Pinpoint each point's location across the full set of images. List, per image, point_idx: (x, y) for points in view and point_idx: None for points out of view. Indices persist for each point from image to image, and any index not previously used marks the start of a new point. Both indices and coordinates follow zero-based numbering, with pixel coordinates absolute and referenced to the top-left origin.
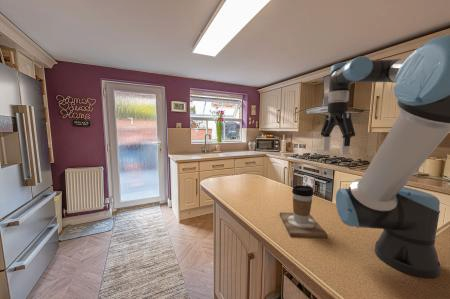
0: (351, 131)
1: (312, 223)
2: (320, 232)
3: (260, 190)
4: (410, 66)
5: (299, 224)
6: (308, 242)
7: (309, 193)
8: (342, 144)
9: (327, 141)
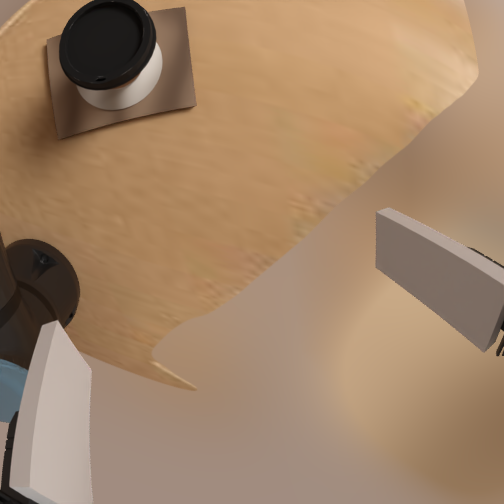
0: None
1: (108, 102)
2: (62, 121)
3: (397, 6)
4: None
5: None
6: (28, 89)
7: (64, 69)
8: (22, 407)
9: (450, 296)
